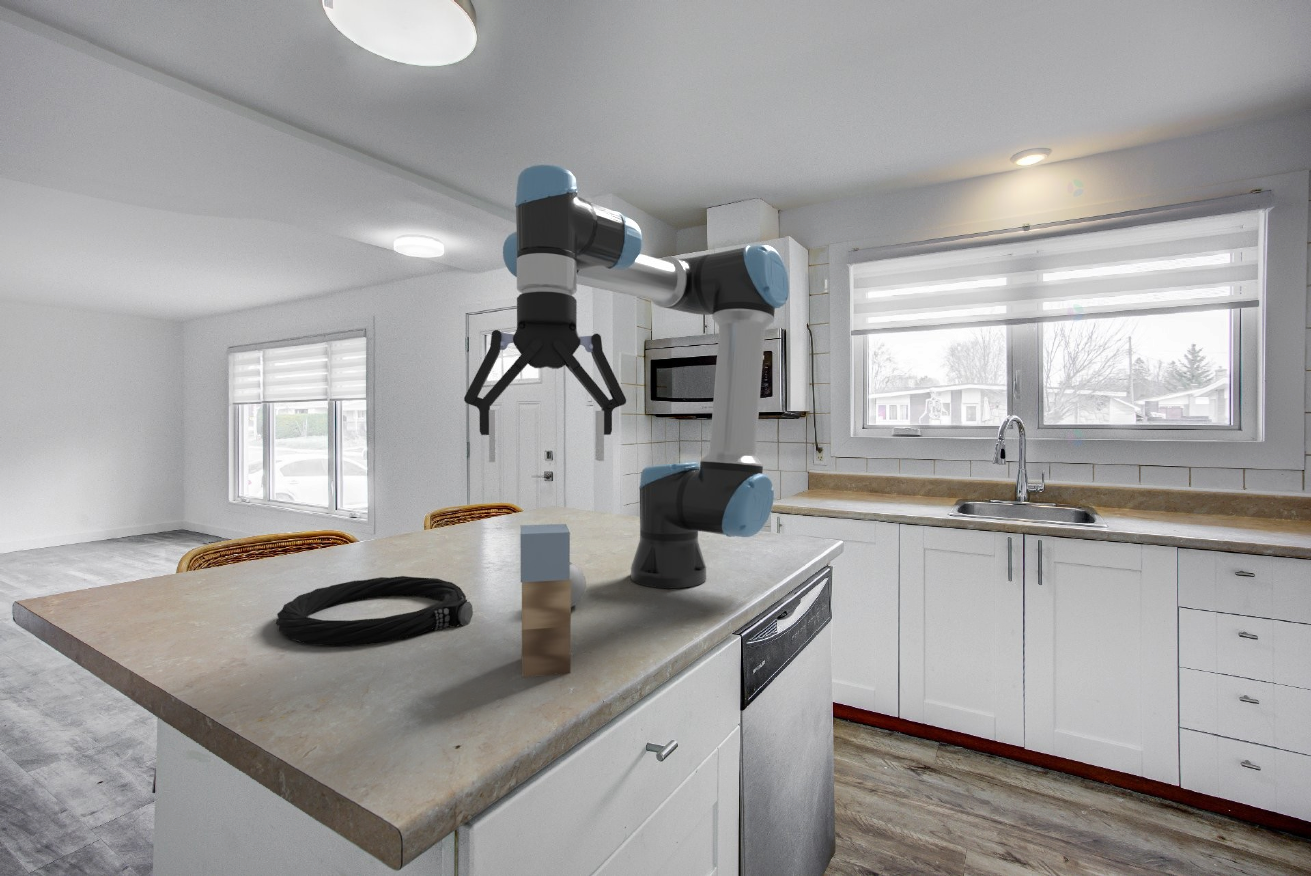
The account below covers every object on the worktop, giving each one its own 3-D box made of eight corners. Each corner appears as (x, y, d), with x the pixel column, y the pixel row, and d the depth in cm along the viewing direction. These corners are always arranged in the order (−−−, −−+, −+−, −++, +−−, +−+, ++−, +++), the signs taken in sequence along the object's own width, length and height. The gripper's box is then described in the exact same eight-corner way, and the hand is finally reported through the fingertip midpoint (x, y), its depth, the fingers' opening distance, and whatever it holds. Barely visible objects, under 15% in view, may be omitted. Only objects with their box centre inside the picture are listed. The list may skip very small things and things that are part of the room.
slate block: (566, 568, 82) (566, 523, 82) (569, 579, 76) (569, 532, 76) (520, 570, 81) (520, 525, 81) (520, 582, 75) (520, 533, 75)
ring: (359, 569, 114) (507, 579, 108) (359, 590, 114) (507, 600, 108) (228, 616, 87) (416, 632, 81) (228, 643, 87) (417, 661, 81)
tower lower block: (566, 654, 83) (566, 611, 83) (570, 673, 77) (570, 626, 77) (521, 658, 81) (521, 614, 81) (522, 677, 76) (522, 629, 75)
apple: (594, 605, 104) (595, 559, 104) (564, 617, 98) (564, 568, 98) (561, 597, 109) (562, 553, 109) (530, 608, 102) (530, 561, 102)
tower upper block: (566, 611, 83) (567, 567, 82) (570, 626, 77) (570, 579, 76) (521, 614, 81) (521, 569, 81) (522, 629, 75) (522, 581, 75)
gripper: (637, 304, 84) (636, 457, 85) (447, 295, 79) (448, 459, 79) (648, 294, 77) (647, 461, 78) (440, 283, 71) (441, 464, 72)
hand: (547, 461), depth 79 cm, fingers open, 13 cm apart
